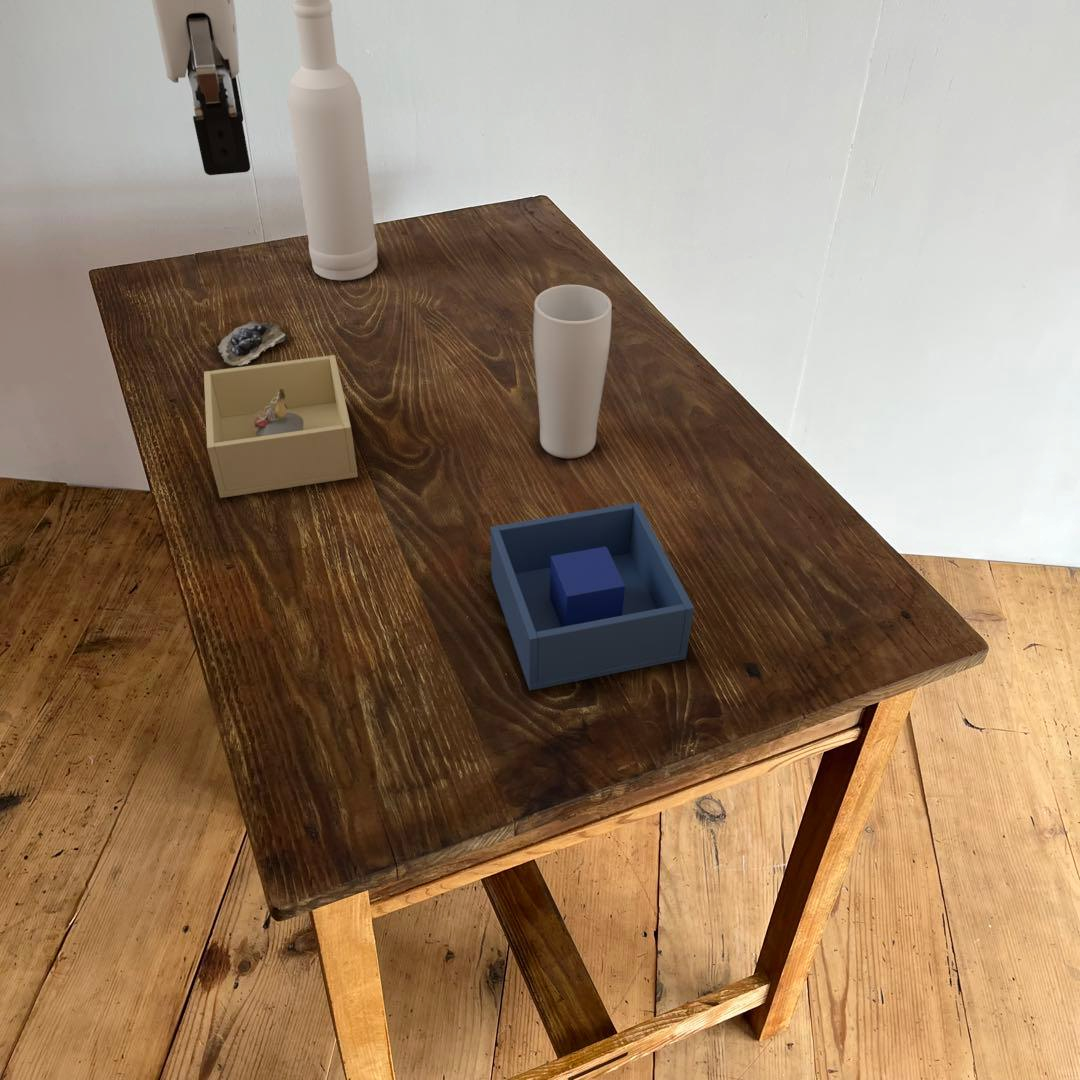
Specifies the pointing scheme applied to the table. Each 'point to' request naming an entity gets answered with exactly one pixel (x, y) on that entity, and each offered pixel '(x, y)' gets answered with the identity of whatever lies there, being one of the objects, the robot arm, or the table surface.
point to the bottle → (330, 152)
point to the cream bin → (287, 455)
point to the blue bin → (603, 645)
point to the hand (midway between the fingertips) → (225, 146)
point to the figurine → (278, 419)
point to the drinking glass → (570, 366)
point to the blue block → (585, 586)
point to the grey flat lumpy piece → (249, 342)
